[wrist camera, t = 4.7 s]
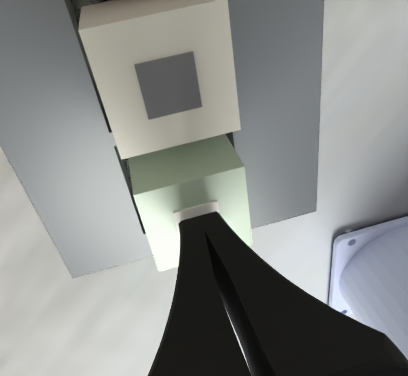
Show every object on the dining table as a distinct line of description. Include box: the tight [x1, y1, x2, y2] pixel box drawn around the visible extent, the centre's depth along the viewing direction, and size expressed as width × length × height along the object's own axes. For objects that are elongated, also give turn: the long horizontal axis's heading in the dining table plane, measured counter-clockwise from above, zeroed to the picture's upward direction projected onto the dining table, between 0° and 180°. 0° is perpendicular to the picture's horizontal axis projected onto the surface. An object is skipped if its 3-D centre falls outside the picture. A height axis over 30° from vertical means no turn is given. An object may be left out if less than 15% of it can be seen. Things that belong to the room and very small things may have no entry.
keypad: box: [0, 0, 324, 278], centre depth 14 cm, size 12×18×2 cm, turn 10°
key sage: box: [128, 134, 253, 272], centre depth 15 cm, size 4×4×3 cm
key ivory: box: [78, 0, 241, 160], centre depth 12 cm, size 4×4×3 cm
